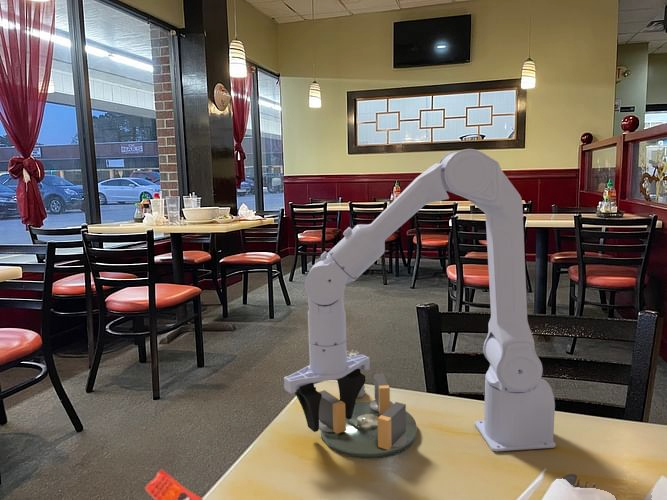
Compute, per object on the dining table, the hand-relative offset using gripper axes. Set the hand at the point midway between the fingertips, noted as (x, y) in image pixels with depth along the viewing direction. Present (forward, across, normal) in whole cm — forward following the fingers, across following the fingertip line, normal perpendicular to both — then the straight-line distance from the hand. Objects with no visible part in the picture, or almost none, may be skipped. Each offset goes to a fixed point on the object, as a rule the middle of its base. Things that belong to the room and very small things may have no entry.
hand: (330, 422), depth 78 cm
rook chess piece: (+2, -11, -9) cm, 14 cm away
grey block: (0, -10, 0) cm, 10 cm away
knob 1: (+1, 0, 0) cm, 1 cm away
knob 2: (+1, -5, +9) cm, 10 cm away
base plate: (+2, -5, +3) cm, 6 cm away
